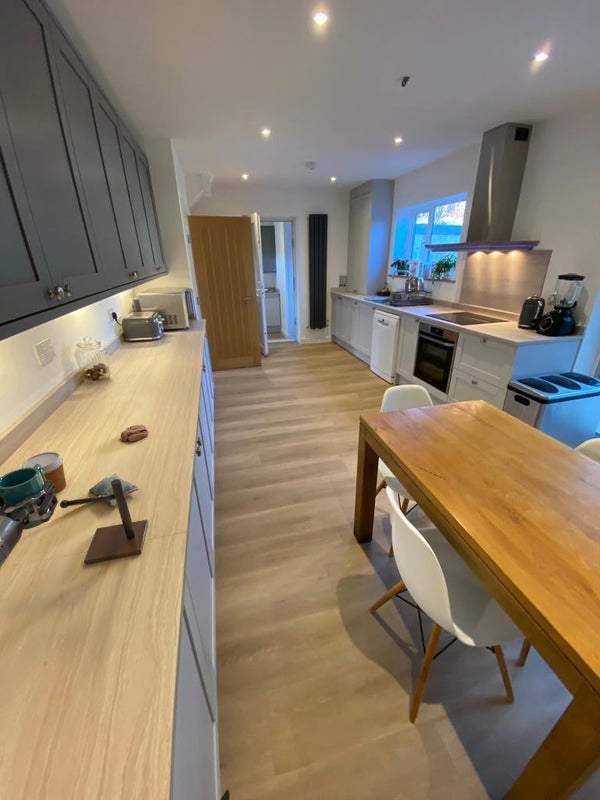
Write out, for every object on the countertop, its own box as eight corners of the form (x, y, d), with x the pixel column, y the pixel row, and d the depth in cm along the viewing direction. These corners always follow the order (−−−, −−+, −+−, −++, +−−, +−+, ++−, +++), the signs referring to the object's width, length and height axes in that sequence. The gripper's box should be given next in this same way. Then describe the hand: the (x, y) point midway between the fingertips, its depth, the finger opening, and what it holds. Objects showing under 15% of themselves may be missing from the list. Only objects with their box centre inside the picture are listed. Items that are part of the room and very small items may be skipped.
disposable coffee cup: (79, 491, 97) (67, 457, 92) (42, 509, 90) (27, 474, 85) (65, 479, 102) (53, 447, 97) (29, 496, 95) (14, 462, 90)
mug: (46, 526, 64) (28, 485, 60) (6, 532, 62) (-14, 491, 58) (66, 491, 73) (53, 454, 69) (33, 496, 72) (17, 459, 68)
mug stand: (148, 522, 86) (134, 466, 78) (141, 553, 77) (125, 493, 69) (84, 534, 82) (63, 476, 75) (69, 567, 73) (44, 506, 66)
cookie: (149, 427, 133) (147, 420, 132) (148, 439, 124) (147, 432, 123) (122, 431, 130) (120, 425, 128) (119, 444, 121) (118, 437, 119)
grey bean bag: (118, 480, 102) (114, 467, 99) (141, 493, 96) (138, 480, 94) (89, 496, 95) (85, 483, 93) (113, 512, 89) (108, 498, 87)
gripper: (23, 526, 51) (64, 466, 66) (-90, 544, 48) (-20, 477, 62) (39, 559, 54) (75, 495, 69) (-66, 579, 51) (-5, 507, 66)
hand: (30, 486), depth 66 cm, fingers closed on mug, 6 cm apart
